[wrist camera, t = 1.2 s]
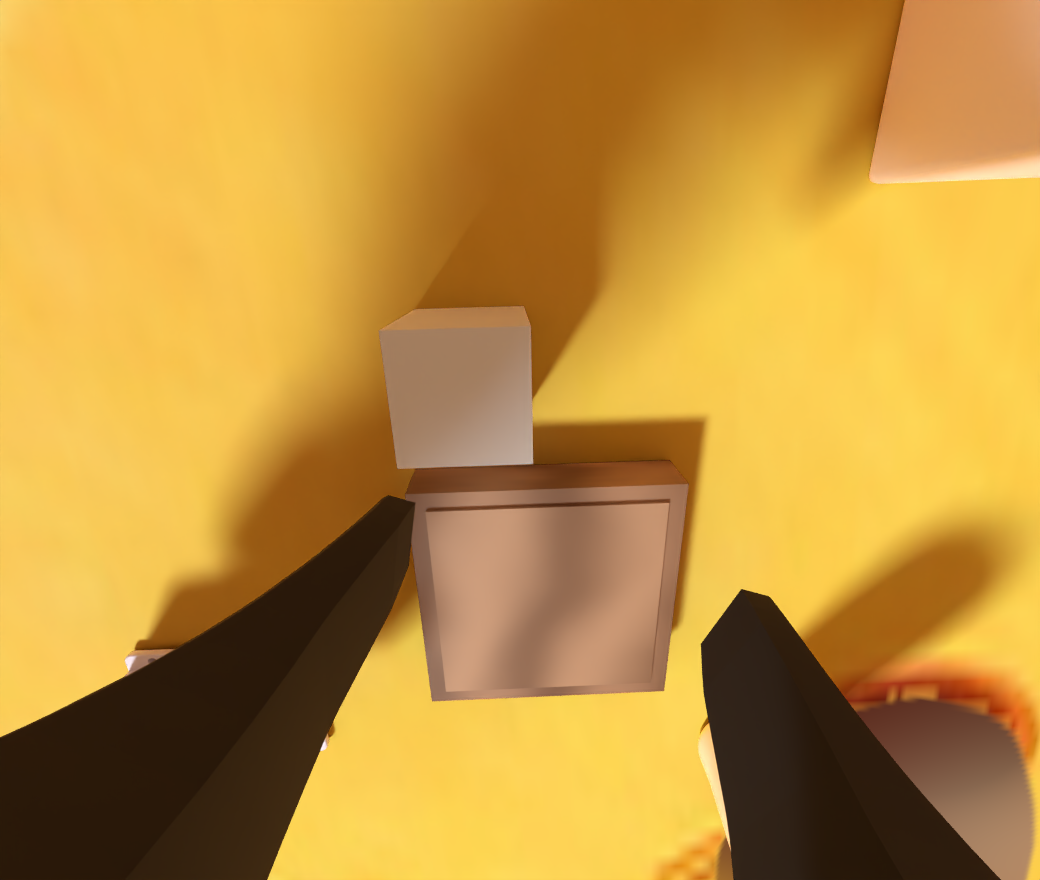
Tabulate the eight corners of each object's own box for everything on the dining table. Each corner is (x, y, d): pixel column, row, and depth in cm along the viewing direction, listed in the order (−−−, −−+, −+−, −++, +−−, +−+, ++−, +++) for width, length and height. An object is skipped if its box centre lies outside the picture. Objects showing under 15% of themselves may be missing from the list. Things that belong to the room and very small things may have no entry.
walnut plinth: (438, 662, 26) (431, 703, 24) (415, 469, 22) (404, 496, 20) (650, 652, 27) (665, 693, 24) (669, 460, 22) (689, 485, 20)
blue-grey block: (425, 412, 21) (397, 468, 15) (415, 308, 19) (378, 330, 14) (525, 408, 21) (533, 464, 16) (523, 305, 19) (530, 325, 14)
